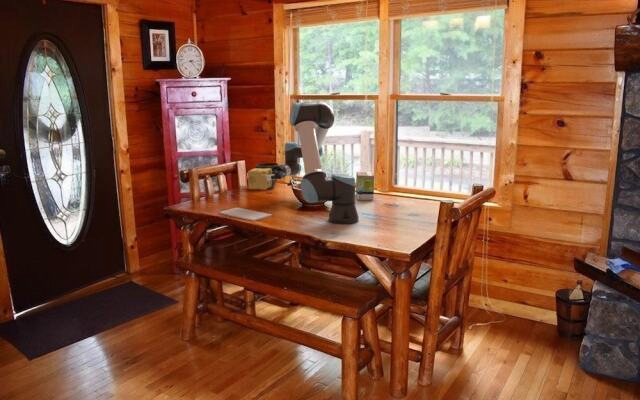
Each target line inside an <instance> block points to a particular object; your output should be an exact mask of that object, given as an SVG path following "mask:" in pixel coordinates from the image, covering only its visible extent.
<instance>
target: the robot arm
mask: <svg viewBox="0 0 640 400" xmlns="http://www.w3.org/2000/svg"><path fill="white" fill-rule="evenodd" d="M334 122H335V113H334V110H333V108H332V107H331V106H330V105H328V104H327V103H326V102H323V101H313V102H312V101H311V102H310V101H309V102H307V101H305V102H301V101H299V102H294V103H292V105H291V107H290V112H289V124H290V126H292V127H294V130H295V131H296V132H298V133H297V134H298V138H299V143H300V144H298V142H297V141H287V142H285V143H284V163H282V164H279V165H277V166H275V167H274V168H273V169H272V175H268V176H266V181H270V180H273V179H276V180H277V179H278V180H282V179H285V178H286V177H292V176H295V175H298V174H300V173H301V172H302V165H301V163H300V162H299V160H298V159H302V161H303V166H304V173H305V174H303V177H302V179H301V180H300V193H301V195H302V197H303V199H304V200H305V201H306V202H307V203H315V204H316V203H321V202H331V208H330V211H329V213H328V221H329V222H330V223H333V224H339V225H341V224H342V225H348V224H354V223H355V224H356V223H357V222H358V221H359V214H358V210H357V206H356V177H354V176H352V175H349V174H345V173H332V174H331V177H327V173H326V172H325V171H323V168H322V162H321V157H322V156H323V152H324V151H323V143H324V140H325V139H326V136H327V134H328V131H329V129H331V128H332V127H333V125H334ZM246 179H248V172H247V173H246Z"/></svg>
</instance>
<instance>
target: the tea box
mask: <svg viewBox="0 0 640 400" xmlns="http://www.w3.org/2000/svg"><path fill="white" fill-rule="evenodd" d="M355 173H356V174H355V175H356V176H355V185H356V186H355V197H356V200H358V201H373V200H374V198H375V174H374V173H373V171H356V172H355Z"/></svg>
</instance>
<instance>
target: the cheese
mask: <svg viewBox="0 0 640 400" xmlns="http://www.w3.org/2000/svg"><path fill="white" fill-rule="evenodd" d="M247 173H248V178H247V185H248V189H250V190H265V191H266V189H267V188H269V187H271V186H272V180H270V181H266V176H268V175H272V169H271V168H267V169H259V168H256V167H255V168H252V169H250V170H248V171H247Z"/></svg>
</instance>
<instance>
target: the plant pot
mask: <svg viewBox="0 0 640 400" xmlns="http://www.w3.org/2000/svg"><path fill="white" fill-rule="evenodd" d="M277 165H280V164H279V163H275V162H261V163H257V164H255V168H259V169H267V168H271V169H273V168H274V167H275V166H277ZM276 182H277V179H273V180H272V186H271V187H269V188H267V189H266V190H268V191H269V190H273V189H274V188H275V186H276ZM266 190H265V191H266Z"/></svg>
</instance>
